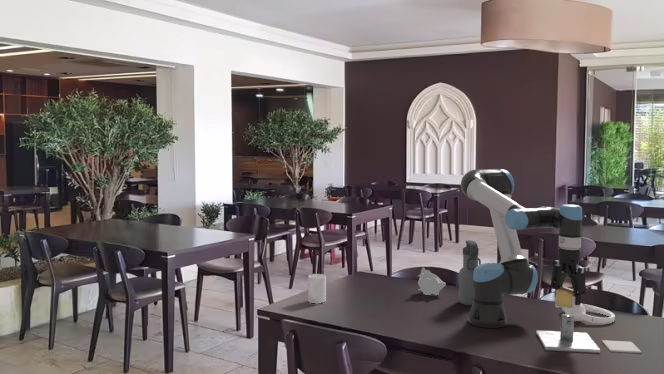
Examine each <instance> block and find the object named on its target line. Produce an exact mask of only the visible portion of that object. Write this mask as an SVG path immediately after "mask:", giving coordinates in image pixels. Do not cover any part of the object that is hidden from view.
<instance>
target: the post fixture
mask: <svg viewBox="0 0 664 374" xmlns="http://www.w3.org/2000/svg"><path fill="white" fill-rule="evenodd" d="M574 322H575V321H574V316H573V315H570V314H566V313H562V314H560V331H559V330H558V331H555V330H536V331H535V332H536V333H535V334H536V335H537V338H538V339H539V341H540V342H541V345H542V346H543V348H544V350H545V351H557V352H558V351H559V352H560V351H561V352H577V353H578V352H579V353H594V354H595V353H596V354H598V353H601V349H600V347H599V346H598V345H597V343H595V341H594V340H593V339H592V338H591V336H590V335H589V334H588V333H587V332H579V331H578V332H577V331H576V332H575V331H574V327H575V325H574V324H575V323H574Z"/></svg>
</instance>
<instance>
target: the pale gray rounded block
mask: <svg viewBox="0 0 664 374" xmlns="http://www.w3.org/2000/svg"><path fill="white" fill-rule="evenodd" d="M307 278H308V280H307V281H308V282H307V286H308V287H307V290H308V291H307V293H308V297H307V299H308V301H309V302H312V303H321V302H325V301H326V302H327V276H326V275H325V274H323V273H312V274H309V275H308V277H307ZM308 301H307V302H308ZM309 302H308V303H309ZM326 302H325V303H326Z"/></svg>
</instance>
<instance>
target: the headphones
mask: <svg viewBox="0 0 664 374" xmlns="http://www.w3.org/2000/svg"><path fill="white" fill-rule="evenodd" d="M561 309H562V311H563V312H564V314H570V315H573V316H574V322H576V321H578V322H581V321H585V322H589V323H591V324H599V325H608V324H613V323H614V322H615V320H616V315H615V313H614V312H612V311H610V310H608V309H605V308H602V307H598V306H595V305H592V304H591V305H590V304H585V303H581V304H580V308H579V313H578V314H572V308H568V307H561ZM587 311H588V312H592V313H595V312H596V314H599V313H600V314H599V315H602V314H603V316H605V315H606V316H605V317H601V316H600V317H598V316H593V315H589V314H587ZM607 316H609V317H607ZM612 322H613V323H612Z"/></svg>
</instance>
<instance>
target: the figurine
mask: <svg viewBox="0 0 664 374" xmlns="http://www.w3.org/2000/svg"><path fill="white" fill-rule="evenodd" d="M417 277H419V278H418V281H417V286H419V289H418V290H417V291H421V292H422V293H423V295H424V294H425V295H430V296H431V295H432V294H433V295H435V296H437V295H438V296H439V293H440V291H441V290H443V288H444V287H446V282H444V281H443V280H442V279H441V278H440V277H439V276H438V275H436V274H435V273H432V272H431V271H430V270H429V269H428V270H427V269H426V268H425V267H421V270H420V274H418V275H417ZM425 295H424V296H425Z"/></svg>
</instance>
